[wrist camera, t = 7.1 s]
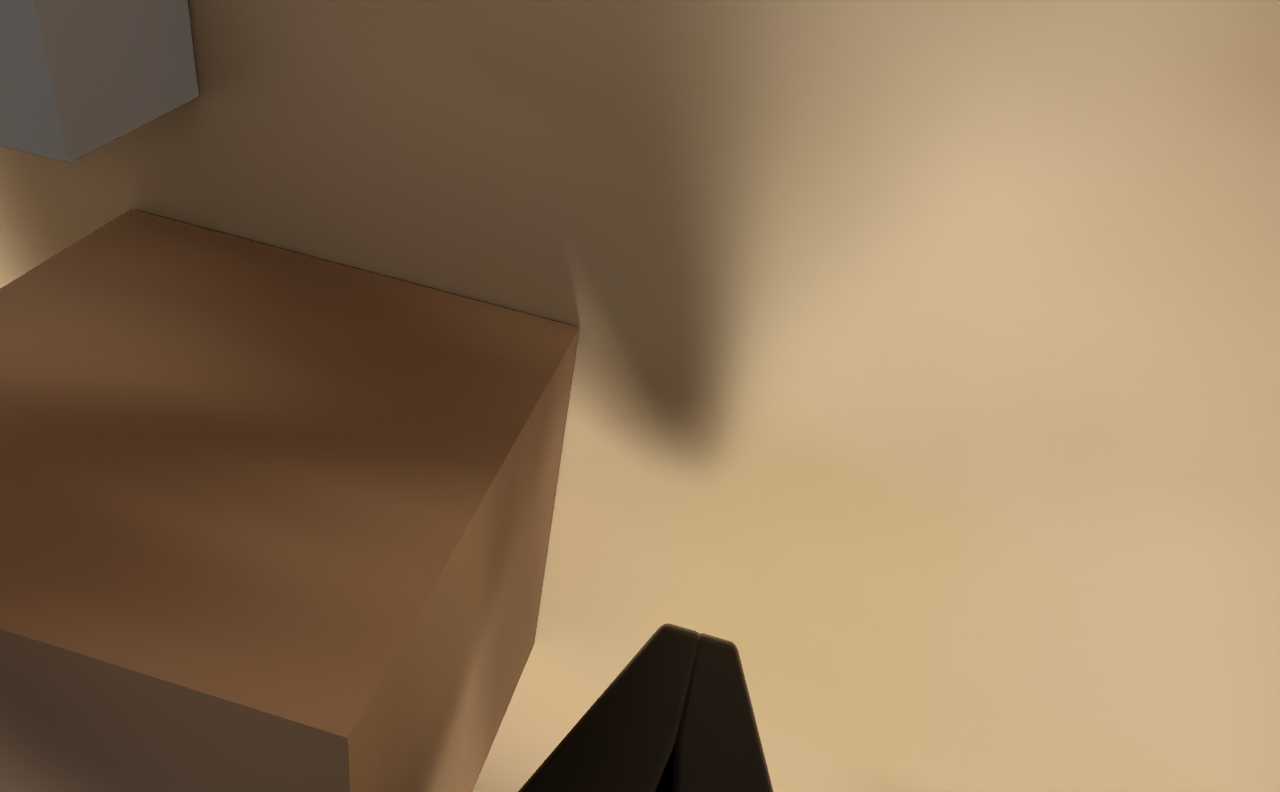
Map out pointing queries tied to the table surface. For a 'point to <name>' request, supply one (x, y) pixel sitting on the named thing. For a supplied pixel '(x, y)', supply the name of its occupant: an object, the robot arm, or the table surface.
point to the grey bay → (90, 71)
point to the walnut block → (264, 518)
